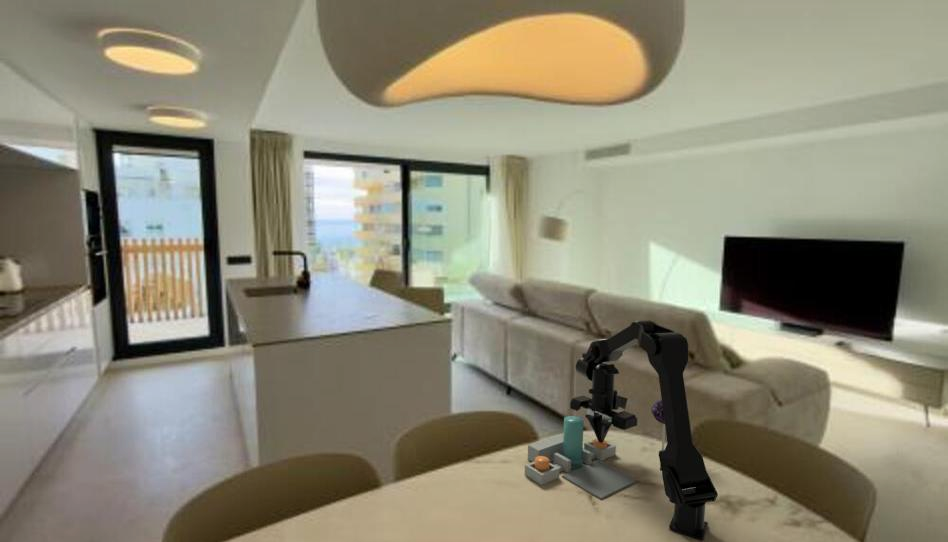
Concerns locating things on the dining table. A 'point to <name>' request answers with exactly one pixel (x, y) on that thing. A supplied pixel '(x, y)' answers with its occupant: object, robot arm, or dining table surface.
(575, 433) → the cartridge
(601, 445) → the right plunger
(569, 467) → the housing
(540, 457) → the left plunger
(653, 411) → the lollipop
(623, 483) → the mat
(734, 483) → the dining table surface
